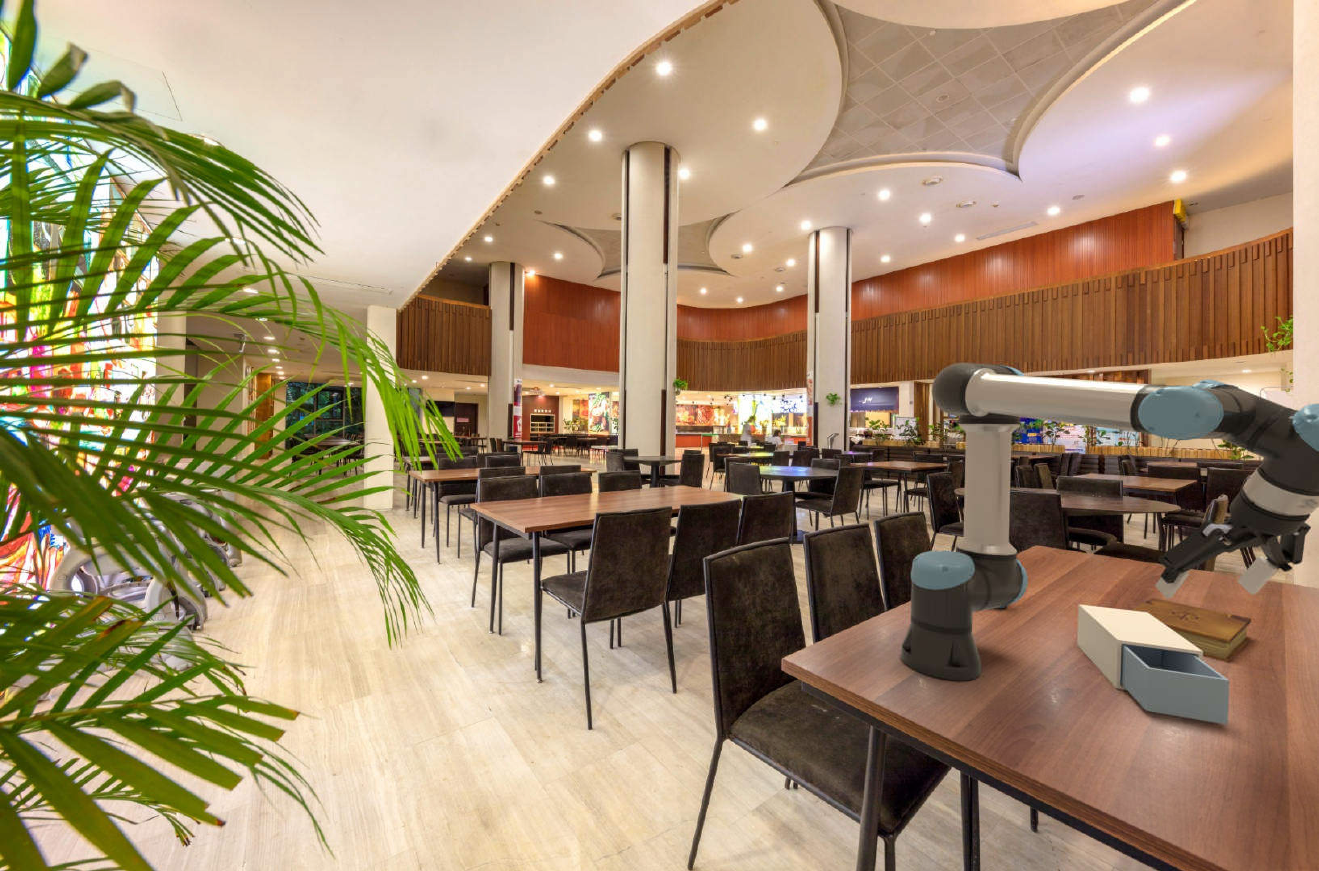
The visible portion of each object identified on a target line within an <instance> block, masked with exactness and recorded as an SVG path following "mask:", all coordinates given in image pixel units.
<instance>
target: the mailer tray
mask: <svg viewBox="0 0 1319 871" xmlns="http://www.w3.org/2000/svg"><path fill="white" fill-rule="evenodd" d="M1120 683H1121V684H1122V685H1123V686H1124V687H1125V688H1126V689H1127V690H1126V691H1127V692H1128V693H1129V694H1130V695H1131V696H1132V697H1133V698H1134V700H1136V701H1137V703H1139V705H1140V706H1141V707H1142V708H1143V709H1144V710H1145V711H1146V712H1152V713H1156V714H1157V713H1158V714H1163V715H1169V716H1176V717H1181V718H1187V719H1193V720H1198V721H1204V722H1211V723H1215V724H1221V725H1225V726H1226V725H1228V724H1229V722H1228V721H1229V695H1230V694H1229V693H1230V680H1229V679H1228V678H1226V677H1225V676H1224V675H1223V674H1221V673H1220V672H1218V671H1217V670H1216V669H1214V668H1213V667H1211V666H1210V665H1209V664H1208V663H1206V662H1205V661H1204V660H1203V661H1202V660H1201V659H1199V658H1198V657H1197V656H1195V655H1194V654H1192V653H1187V652H1180V651H1172V650H1165V649H1158V648H1150V647H1143V646H1136V645H1129V644H1122V647H1121V677H1120Z"/></svg>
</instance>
